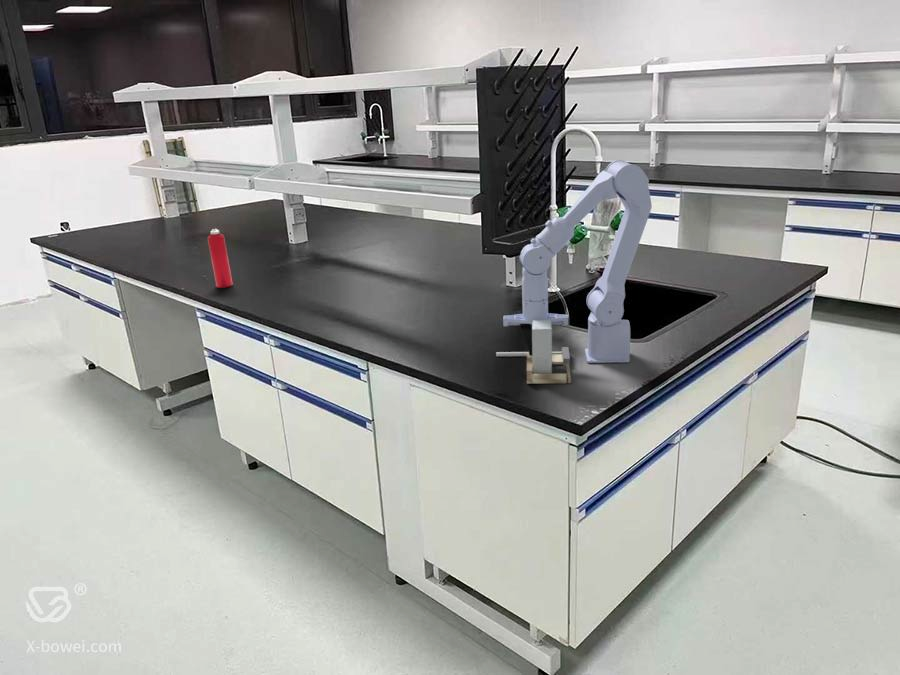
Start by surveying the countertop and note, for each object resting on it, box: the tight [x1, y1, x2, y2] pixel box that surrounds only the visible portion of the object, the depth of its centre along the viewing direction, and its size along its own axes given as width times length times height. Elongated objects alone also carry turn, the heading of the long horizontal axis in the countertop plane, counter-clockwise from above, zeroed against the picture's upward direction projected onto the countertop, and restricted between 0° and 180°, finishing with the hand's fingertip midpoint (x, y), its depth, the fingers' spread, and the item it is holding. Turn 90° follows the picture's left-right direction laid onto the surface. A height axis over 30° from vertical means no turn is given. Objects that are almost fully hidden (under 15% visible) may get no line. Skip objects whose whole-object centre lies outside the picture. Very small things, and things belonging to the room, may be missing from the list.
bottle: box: [207, 228, 234, 289], centre depth 232 cm, size 5×5×20 cm
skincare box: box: [531, 320, 553, 374], centre depth 147 cm, size 6×4×12 cm
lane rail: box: [495, 346, 571, 368], centre depth 157 cm, size 17×7×2 cm, turn 83°
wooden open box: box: [526, 353, 572, 385], centre depth 151 cm, size 9×15×6 cm, turn 173°
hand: (535, 354), depth 156 cm, fingers closed on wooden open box, 2 cm apart
